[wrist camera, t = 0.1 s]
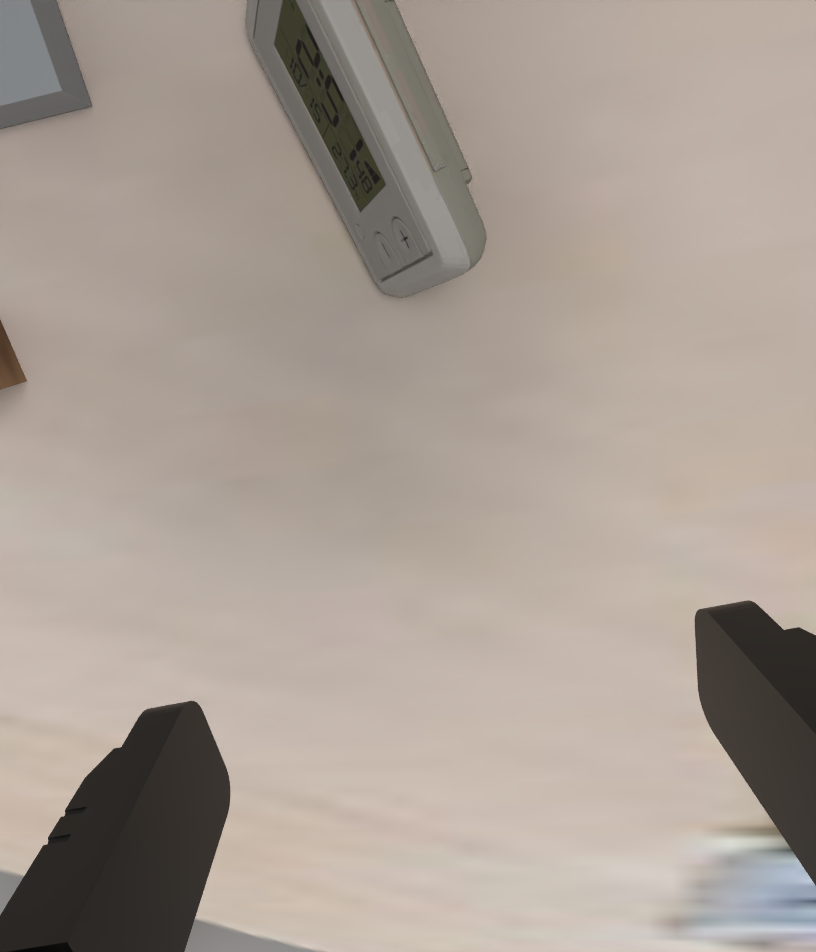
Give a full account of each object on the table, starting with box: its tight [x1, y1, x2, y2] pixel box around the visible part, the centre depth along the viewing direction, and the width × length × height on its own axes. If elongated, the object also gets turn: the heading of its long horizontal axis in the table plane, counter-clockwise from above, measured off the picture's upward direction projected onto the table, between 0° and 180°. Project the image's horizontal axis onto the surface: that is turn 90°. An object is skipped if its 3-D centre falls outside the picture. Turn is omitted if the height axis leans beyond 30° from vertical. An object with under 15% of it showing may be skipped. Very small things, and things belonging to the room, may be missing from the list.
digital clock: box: [246, 0, 486, 297], centre depth 28 cm, size 16×9×11 cm, turn 16°
